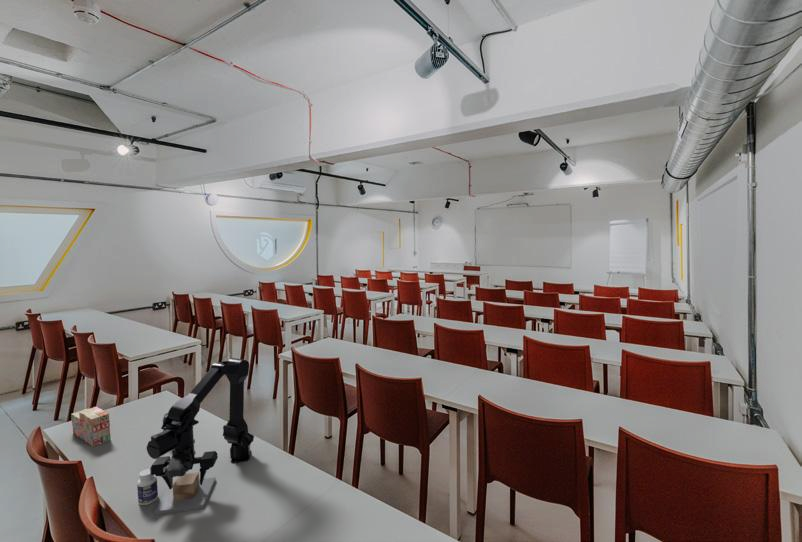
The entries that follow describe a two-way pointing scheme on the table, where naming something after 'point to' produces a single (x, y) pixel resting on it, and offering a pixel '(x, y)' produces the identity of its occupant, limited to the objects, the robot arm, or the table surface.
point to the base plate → (185, 504)
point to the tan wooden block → (186, 486)
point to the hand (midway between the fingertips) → (186, 486)
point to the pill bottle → (147, 487)
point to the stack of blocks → (92, 425)
